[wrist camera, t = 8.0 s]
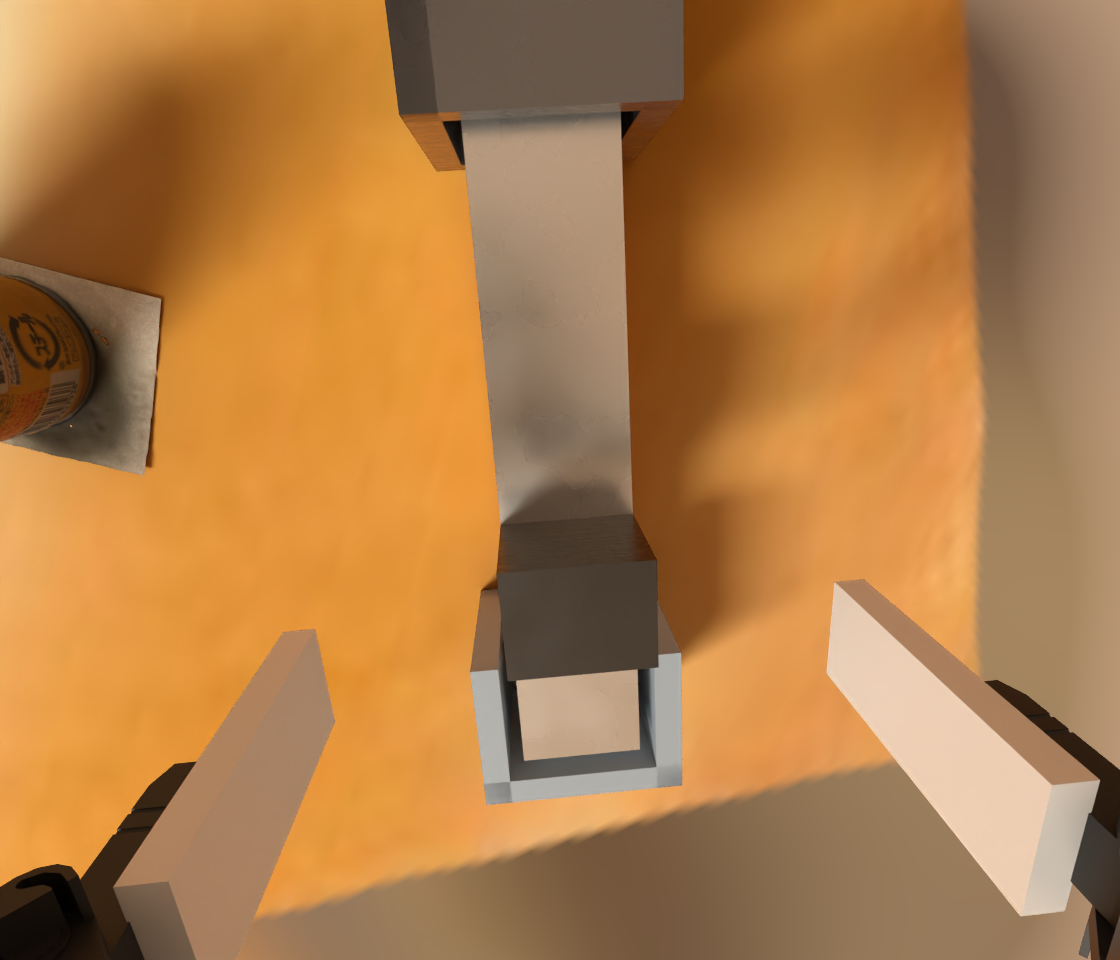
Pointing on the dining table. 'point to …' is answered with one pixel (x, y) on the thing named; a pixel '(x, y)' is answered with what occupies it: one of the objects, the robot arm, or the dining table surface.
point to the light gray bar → (562, 426)
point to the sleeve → (534, 65)
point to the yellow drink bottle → (76, 366)
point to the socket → (580, 773)
